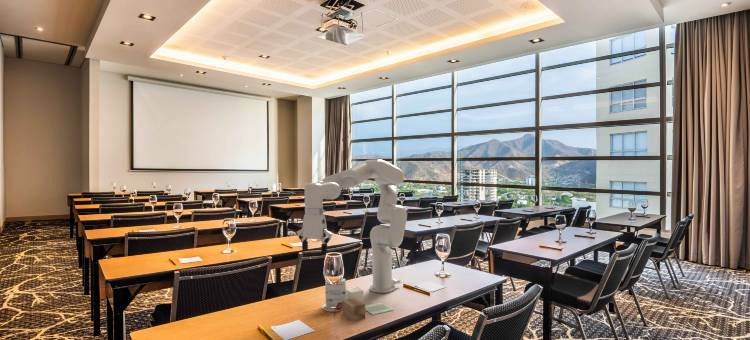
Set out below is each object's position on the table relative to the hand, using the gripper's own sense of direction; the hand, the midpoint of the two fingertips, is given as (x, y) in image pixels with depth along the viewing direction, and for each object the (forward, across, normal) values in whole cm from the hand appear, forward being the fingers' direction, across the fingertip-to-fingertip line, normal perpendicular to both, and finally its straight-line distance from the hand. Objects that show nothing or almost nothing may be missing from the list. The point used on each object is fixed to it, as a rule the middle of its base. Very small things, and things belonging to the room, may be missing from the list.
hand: (314, 251), depth 170 cm
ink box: (+25, -6, -7) cm, 27 cm away
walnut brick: (+25, -18, -1) cm, 31 cm away
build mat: (+25, -24, -12) cm, 36 cm away
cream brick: (+25, -11, -14) cm, 31 cm away
